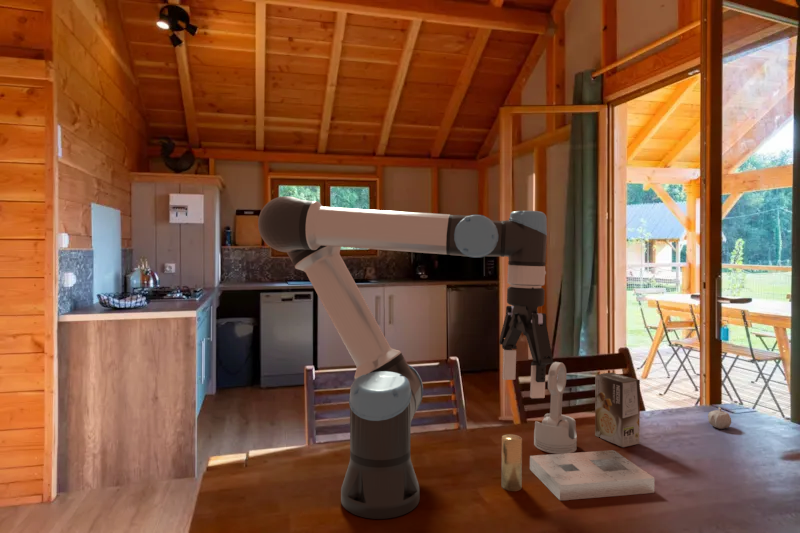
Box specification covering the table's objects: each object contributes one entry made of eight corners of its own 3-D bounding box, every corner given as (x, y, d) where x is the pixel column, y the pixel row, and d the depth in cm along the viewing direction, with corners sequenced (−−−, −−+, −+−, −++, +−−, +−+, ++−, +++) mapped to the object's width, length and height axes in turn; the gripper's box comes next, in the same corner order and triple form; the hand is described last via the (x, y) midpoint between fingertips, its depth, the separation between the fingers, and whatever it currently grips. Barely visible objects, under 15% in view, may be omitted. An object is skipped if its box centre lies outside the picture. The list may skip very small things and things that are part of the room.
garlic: (712, 422, 141) (712, 403, 141) (734, 427, 137) (734, 408, 137) (704, 427, 137) (704, 408, 137) (726, 432, 133) (727, 413, 133)
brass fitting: (505, 491, 100) (506, 442, 100) (498, 482, 104) (499, 434, 104) (524, 490, 101) (525, 441, 100) (517, 481, 105) (517, 433, 104)
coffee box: (640, 443, 125) (642, 379, 124) (622, 448, 122) (623, 382, 122) (611, 431, 133) (612, 371, 133) (593, 435, 131) (594, 374, 130)
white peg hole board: (559, 500, 97) (560, 485, 96) (529, 469, 110) (529, 455, 110) (654, 492, 100) (654, 477, 100) (613, 463, 113) (613, 450, 113)
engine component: (527, 447, 123) (568, 457, 117) (528, 364, 122) (569, 370, 116) (544, 434, 131) (583, 443, 125) (545, 356, 131) (584, 361, 125)
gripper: (574, 291, 92) (570, 405, 93) (517, 282, 117) (513, 372, 118) (537, 291, 91) (532, 407, 92) (486, 281, 115) (483, 373, 116)
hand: (522, 388), depth 105 cm, fingers open, 13 cm apart
